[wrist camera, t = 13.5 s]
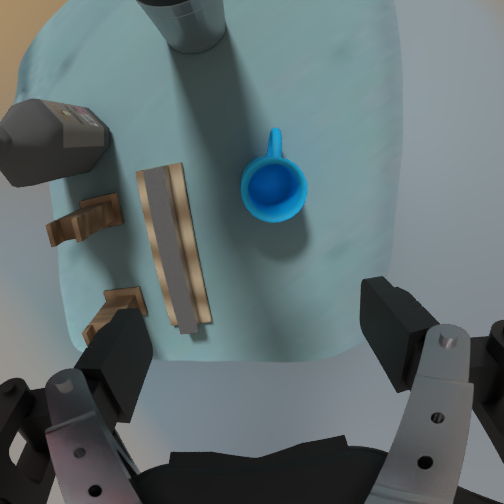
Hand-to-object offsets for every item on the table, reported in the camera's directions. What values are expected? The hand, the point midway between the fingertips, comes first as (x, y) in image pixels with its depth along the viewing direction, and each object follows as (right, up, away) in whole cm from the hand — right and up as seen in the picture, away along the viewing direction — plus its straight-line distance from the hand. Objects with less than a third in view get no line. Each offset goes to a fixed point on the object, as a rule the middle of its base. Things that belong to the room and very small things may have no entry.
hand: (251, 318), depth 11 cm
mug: (+3, +14, +33) cm, 36 cm away
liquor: (-26, +20, +30) cm, 45 cm away
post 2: (-22, -6, +39) cm, 45 cm away
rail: (-12, +2, +36) cm, 38 cm away
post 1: (-24, +9, +34) cm, 43 cm away
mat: (-12, +3, +37) cm, 39 cm away
